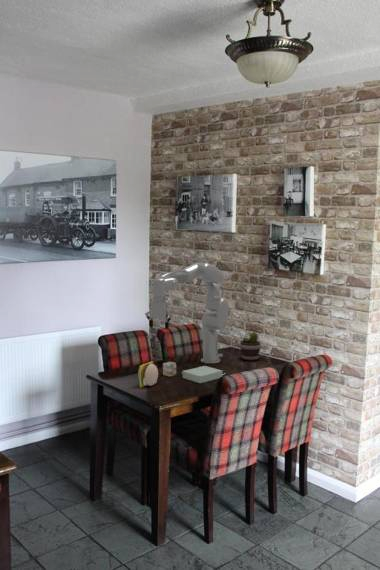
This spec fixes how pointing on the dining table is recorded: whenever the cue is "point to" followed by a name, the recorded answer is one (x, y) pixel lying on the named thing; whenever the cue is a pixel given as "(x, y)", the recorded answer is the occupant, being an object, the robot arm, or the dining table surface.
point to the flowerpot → (250, 347)
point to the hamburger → (148, 374)
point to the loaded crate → (169, 369)
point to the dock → (202, 374)
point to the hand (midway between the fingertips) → (158, 327)
